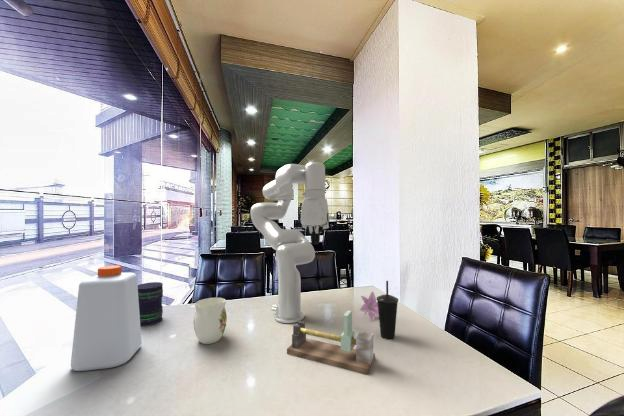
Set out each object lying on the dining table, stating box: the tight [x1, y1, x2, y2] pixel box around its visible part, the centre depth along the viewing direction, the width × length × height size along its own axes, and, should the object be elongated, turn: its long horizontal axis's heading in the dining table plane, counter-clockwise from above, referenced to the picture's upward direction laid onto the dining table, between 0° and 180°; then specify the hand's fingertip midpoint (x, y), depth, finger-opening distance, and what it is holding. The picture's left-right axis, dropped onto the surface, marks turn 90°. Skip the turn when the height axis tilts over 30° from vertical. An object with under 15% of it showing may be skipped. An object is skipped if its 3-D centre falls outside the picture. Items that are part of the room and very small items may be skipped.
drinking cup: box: [376, 280, 399, 341], centre depth 96 cm, size 8×8×20 cm
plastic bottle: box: [70, 265, 142, 372], centre depth 82 cm, size 15×15×28 cm
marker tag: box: [340, 310, 356, 352], centre depth 80 cm, size 3×4×10 cm
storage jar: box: [137, 281, 164, 327], centre depth 110 cm, size 10×10×15 cm
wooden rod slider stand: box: [286, 320, 376, 375], centre depth 83 cm, size 26×9×8 cm, turn 65°
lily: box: [359, 291, 379, 322], centre depth 114 cm, size 12×12×10 cm
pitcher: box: [193, 297, 228, 345], centre depth 95 cm, size 11×18×14 cm, turn 4°
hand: (315, 243), depth 100 cm, fingers closed
